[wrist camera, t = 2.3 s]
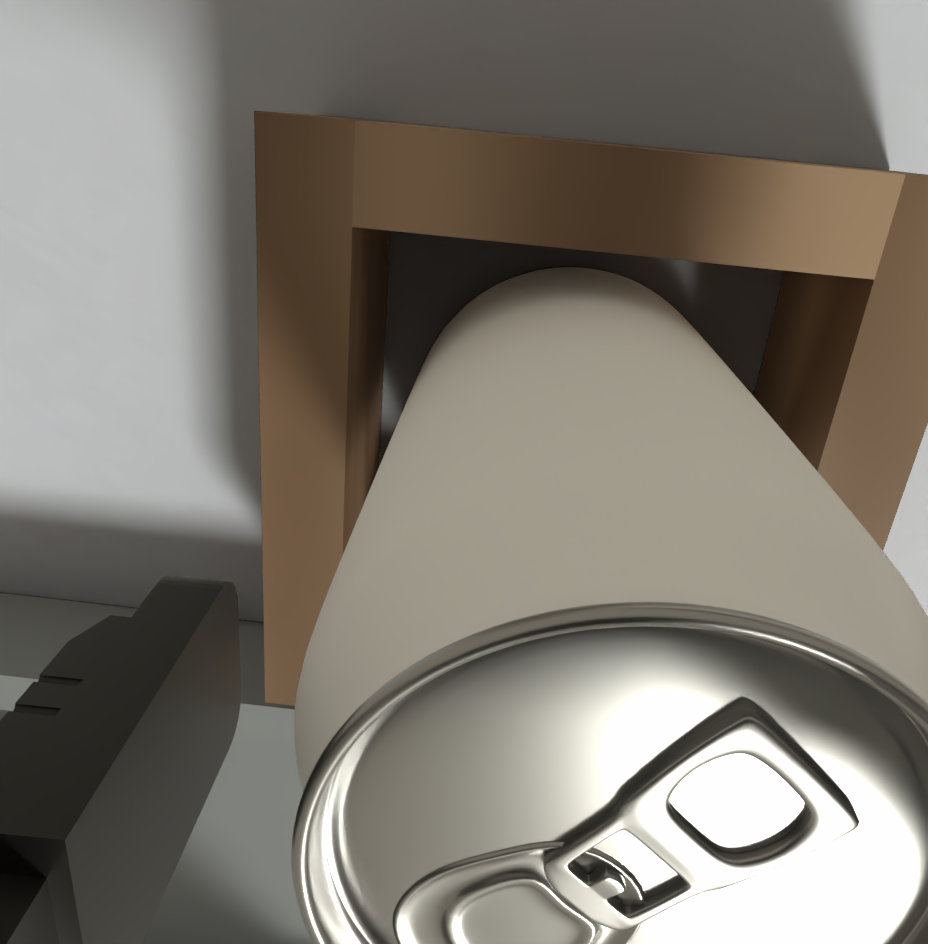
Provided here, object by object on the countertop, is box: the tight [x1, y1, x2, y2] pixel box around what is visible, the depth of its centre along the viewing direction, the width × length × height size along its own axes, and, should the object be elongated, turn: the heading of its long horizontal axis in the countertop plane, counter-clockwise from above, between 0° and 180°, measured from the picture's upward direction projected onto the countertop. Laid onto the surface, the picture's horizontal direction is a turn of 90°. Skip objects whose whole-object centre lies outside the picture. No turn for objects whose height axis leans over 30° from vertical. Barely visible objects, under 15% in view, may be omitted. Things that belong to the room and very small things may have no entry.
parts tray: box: [0, 593, 313, 944], centre depth 22 cm, size 14×14×3 cm
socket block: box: [254, 111, 928, 706], centre depth 15 cm, size 11×11×4 cm
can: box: [291, 267, 928, 944], centre depth 12 cm, size 6×6×12 cm
